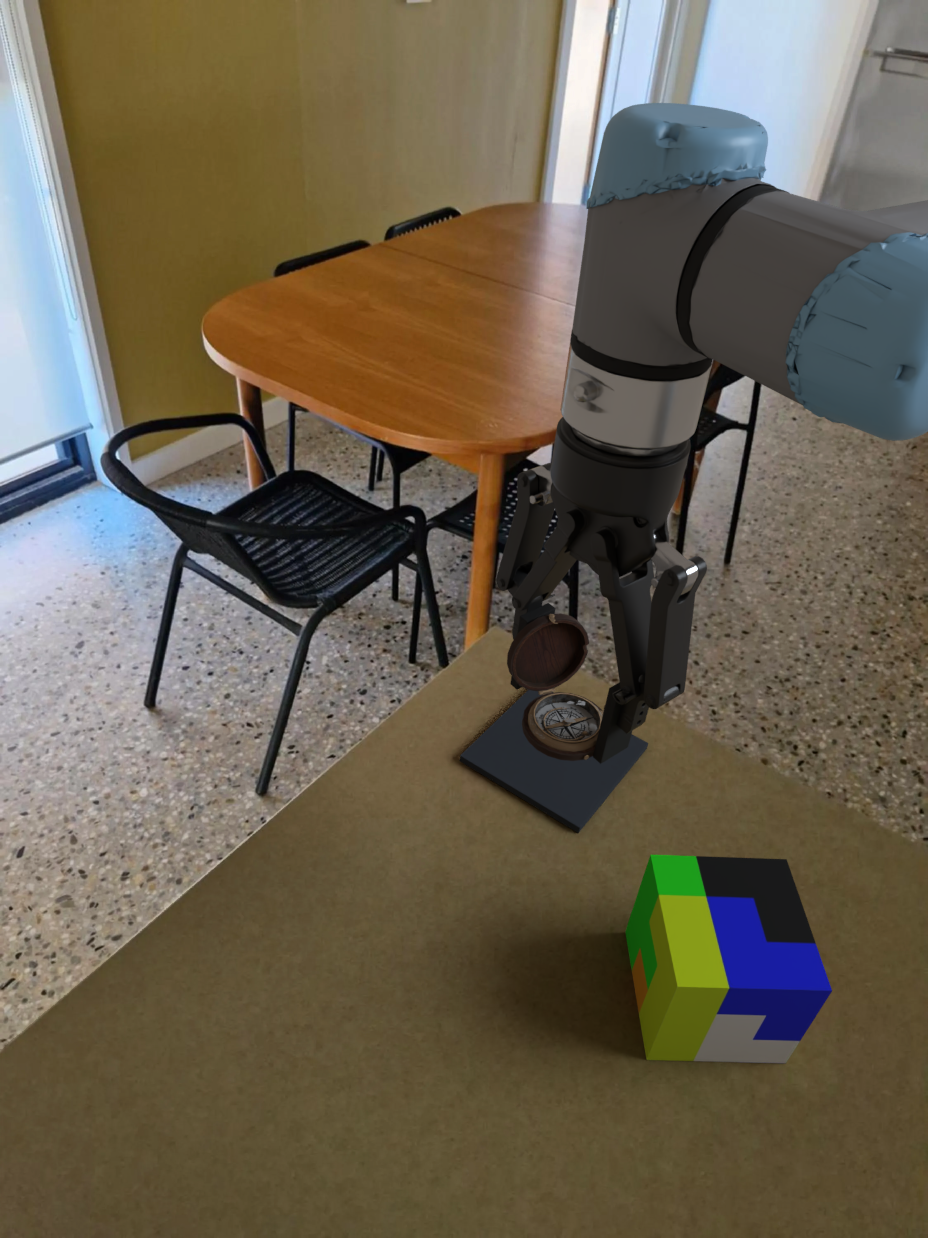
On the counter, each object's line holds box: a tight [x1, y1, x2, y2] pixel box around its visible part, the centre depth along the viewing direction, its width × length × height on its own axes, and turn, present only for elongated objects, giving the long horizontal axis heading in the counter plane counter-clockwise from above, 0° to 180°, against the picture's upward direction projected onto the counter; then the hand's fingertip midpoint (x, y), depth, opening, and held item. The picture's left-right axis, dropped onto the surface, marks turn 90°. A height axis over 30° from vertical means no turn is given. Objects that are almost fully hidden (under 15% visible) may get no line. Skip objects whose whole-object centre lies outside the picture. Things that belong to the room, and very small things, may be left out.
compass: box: [506, 613, 605, 761], centre depth 61 cm, size 8×8×7 cm
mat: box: [459, 690, 649, 834], centre depth 84 cm, size 13×13×1 cm
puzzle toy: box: [624, 854, 833, 1064], centre depth 63 cm, size 10×10×10 cm
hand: (567, 714), depth 64 cm, fingers closed on compass, 8 cm apart
